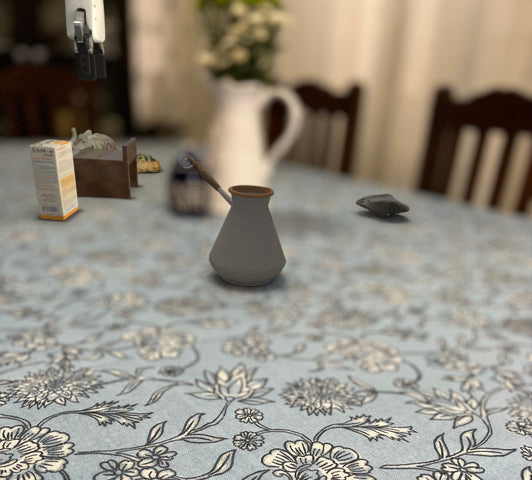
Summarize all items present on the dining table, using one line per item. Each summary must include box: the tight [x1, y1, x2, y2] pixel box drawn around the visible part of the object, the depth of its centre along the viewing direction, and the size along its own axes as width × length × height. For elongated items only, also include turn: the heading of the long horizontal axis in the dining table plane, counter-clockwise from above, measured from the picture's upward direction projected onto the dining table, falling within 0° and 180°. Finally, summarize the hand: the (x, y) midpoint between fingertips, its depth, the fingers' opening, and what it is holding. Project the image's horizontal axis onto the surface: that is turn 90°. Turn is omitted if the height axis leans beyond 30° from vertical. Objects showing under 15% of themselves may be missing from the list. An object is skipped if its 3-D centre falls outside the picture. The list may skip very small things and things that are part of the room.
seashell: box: [355, 193, 411, 218], centre depth 116 cm, size 12×6×10 cm
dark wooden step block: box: [73, 137, 139, 200], centre depth 118 cm, size 12×14×11 cm
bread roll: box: [137, 152, 162, 174], centre depth 145 cm, size 11×11×5 cm
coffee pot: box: [181, 155, 287, 287], centre depth 77 cm, size 21×12×15 cm, turn 42°
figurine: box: [69, 127, 119, 152], centre depth 129 cm, size 10×14×15 cm, turn 138°
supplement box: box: [28, 138, 79, 221], centre depth 97 cm, size 8×5×13 cm, turn 178°
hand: (92, 79), depth 95 cm, fingers open, 9 cm apart
